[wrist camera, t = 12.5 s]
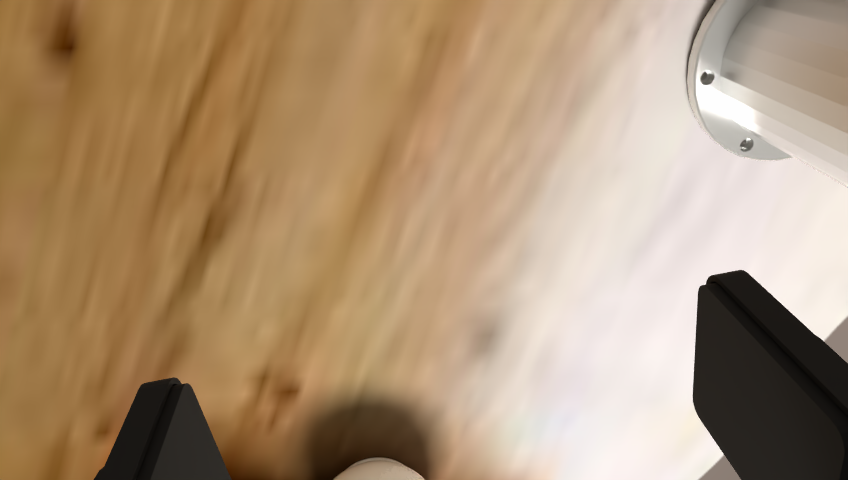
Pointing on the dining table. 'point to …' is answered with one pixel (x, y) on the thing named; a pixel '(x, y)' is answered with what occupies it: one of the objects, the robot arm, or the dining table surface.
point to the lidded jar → (378, 470)
